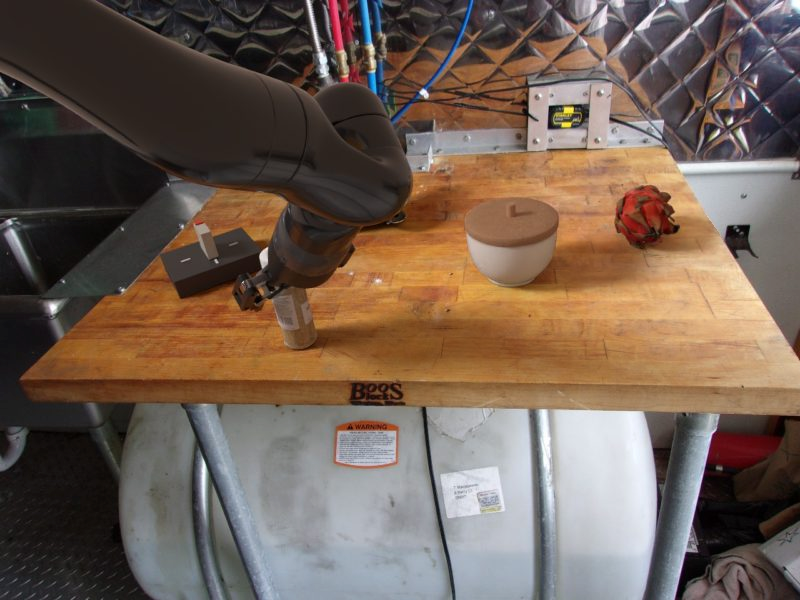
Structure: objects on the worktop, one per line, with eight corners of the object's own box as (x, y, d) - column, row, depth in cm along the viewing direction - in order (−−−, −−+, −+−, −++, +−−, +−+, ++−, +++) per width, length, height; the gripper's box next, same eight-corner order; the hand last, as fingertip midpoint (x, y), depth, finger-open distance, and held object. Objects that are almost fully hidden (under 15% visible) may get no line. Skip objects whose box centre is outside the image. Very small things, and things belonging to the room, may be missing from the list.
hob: (180, 298, 89) (173, 281, 87) (165, 269, 97) (158, 253, 95) (267, 267, 94) (262, 250, 92) (245, 242, 102) (241, 226, 100)
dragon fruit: (635, 226, 95) (651, 274, 86) (594, 202, 92) (606, 249, 84) (676, 188, 89) (698, 235, 81) (634, 162, 87) (651, 207, 78)
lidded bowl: (550, 302, 78) (553, 228, 71) (458, 293, 82) (453, 222, 75) (560, 254, 87) (564, 185, 81) (477, 249, 91) (474, 182, 85)
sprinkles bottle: (325, 338, 76) (304, 248, 69) (296, 355, 74) (272, 265, 66) (304, 325, 79) (282, 237, 72) (276, 341, 77) (251, 253, 69)
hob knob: (219, 256, 92) (210, 229, 89) (209, 260, 91) (200, 233, 89) (211, 244, 96) (202, 218, 93) (201, 248, 95) (192, 221, 93)
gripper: (264, 301, 56) (246, 341, 70) (386, 246, 62) (346, 293, 76) (228, 233, 56) (217, 287, 71) (351, 186, 63) (318, 244, 77)
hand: (284, 290), depth 74 cm, fingers open, 8 cm apart
